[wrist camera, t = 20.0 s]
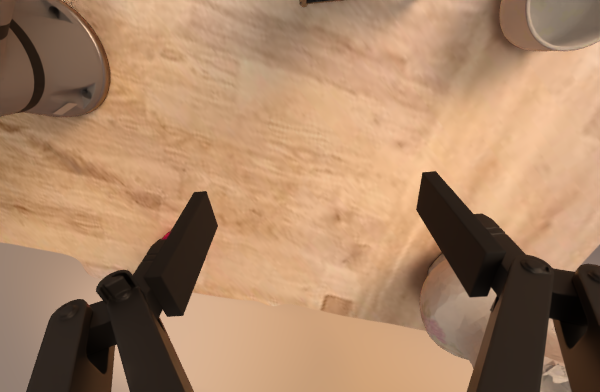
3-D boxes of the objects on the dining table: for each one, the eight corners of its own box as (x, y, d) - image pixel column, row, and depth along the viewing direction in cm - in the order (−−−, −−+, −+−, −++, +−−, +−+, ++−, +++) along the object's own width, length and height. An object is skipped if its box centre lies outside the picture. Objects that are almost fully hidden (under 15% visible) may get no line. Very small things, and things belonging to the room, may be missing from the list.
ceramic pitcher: (535, 266, 53) (718, 409, 30) (459, 328, 59) (562, 486, 36) (456, 208, 48) (602, 326, 25) (382, 282, 54) (445, 432, 31)
